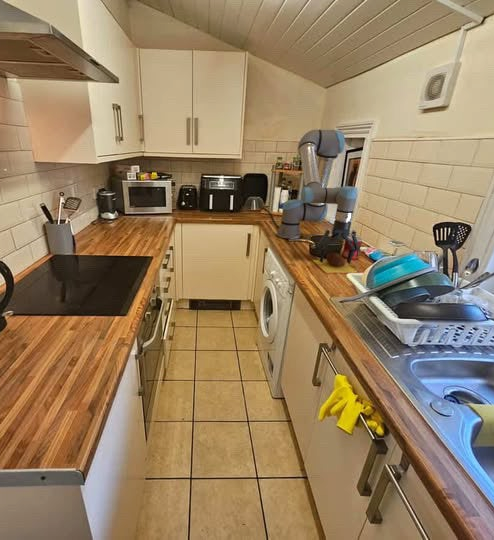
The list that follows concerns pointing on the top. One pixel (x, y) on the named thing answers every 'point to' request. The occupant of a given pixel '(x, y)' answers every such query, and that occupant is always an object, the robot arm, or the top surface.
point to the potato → (335, 260)
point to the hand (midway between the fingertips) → (334, 262)
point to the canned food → (347, 248)
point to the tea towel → (331, 269)
